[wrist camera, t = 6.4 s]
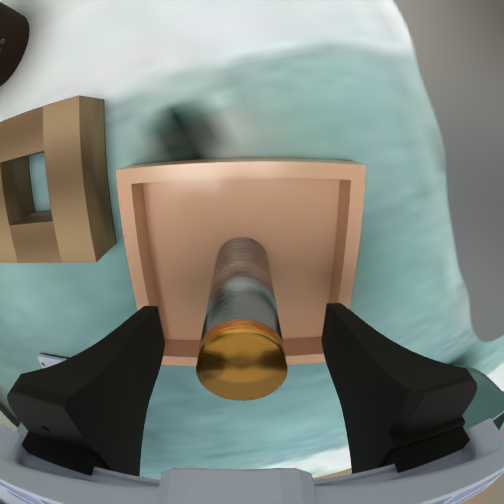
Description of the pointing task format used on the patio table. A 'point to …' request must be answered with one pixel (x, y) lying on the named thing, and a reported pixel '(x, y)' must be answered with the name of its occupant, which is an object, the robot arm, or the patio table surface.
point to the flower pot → (484, 402)
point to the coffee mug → (11, 40)
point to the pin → (241, 326)
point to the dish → (242, 225)
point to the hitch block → (56, 184)
